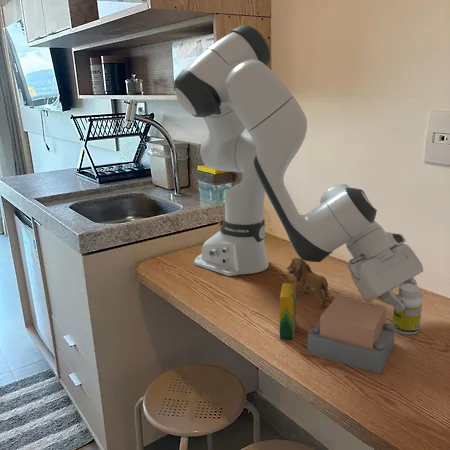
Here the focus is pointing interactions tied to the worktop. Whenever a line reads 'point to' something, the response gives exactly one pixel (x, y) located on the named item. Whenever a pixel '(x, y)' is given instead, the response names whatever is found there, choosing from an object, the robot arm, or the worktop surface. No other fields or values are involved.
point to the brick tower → (353, 335)
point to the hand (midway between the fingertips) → (410, 305)
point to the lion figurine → (309, 279)
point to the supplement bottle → (408, 310)
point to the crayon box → (287, 311)
